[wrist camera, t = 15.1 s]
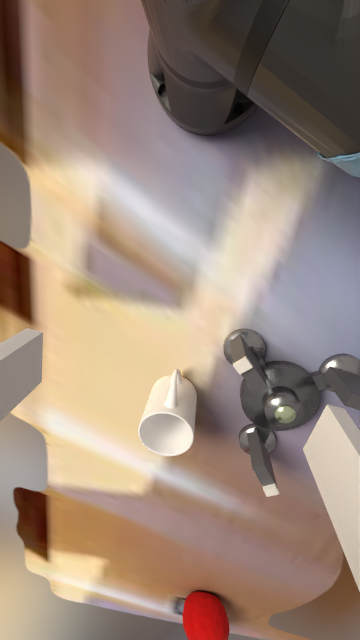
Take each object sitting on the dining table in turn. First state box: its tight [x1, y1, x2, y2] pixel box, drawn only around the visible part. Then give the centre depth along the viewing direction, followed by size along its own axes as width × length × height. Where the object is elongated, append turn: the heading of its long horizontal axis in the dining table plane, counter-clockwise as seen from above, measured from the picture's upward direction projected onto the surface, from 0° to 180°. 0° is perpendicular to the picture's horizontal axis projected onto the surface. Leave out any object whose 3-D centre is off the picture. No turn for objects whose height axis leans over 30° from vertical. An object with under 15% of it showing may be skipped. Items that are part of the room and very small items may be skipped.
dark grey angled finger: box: [247, 430, 279, 497], centre depth 47 cm, size 6×2×8 cm, turn 28°
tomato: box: [183, 591, 229, 640], centre depth 68 cm, size 11×13×10 cm
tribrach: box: [224, 329, 360, 454], centre depth 46 cm, size 25×24×6 cm
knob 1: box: [230, 335, 269, 394], centre depth 40 cm, size 6×2×8 cm, turn 37°
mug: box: [138, 369, 197, 456], centre depth 45 cm, size 9×12×11 cm
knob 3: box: [324, 366, 360, 410], centre depth 40 cm, size 6×2×8 cm, turn 74°
